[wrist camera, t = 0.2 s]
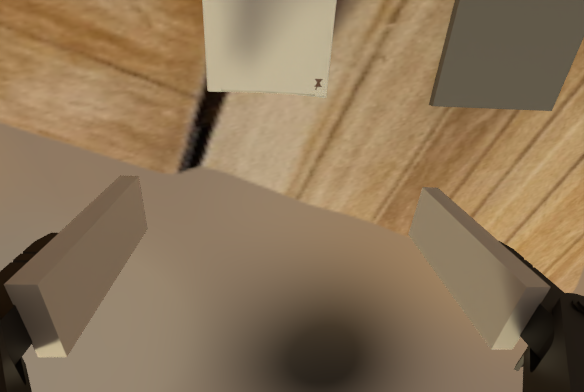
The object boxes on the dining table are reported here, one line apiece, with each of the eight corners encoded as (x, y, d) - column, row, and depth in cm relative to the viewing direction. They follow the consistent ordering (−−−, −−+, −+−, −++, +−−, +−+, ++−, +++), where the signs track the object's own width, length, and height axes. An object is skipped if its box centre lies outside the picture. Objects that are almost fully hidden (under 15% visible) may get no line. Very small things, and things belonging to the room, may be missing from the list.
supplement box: (313, -12, 34) (350, -53, 19) (307, 76, 38) (332, 99, 23) (226, -20, 33) (193, -68, 18) (229, 71, 37) (204, 93, 22)
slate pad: (469, -56, 33) (474, -58, 32) (610, -43, 35) (619, -45, 34) (429, 104, 41) (432, 106, 40) (545, 109, 42) (551, 110, 41)
